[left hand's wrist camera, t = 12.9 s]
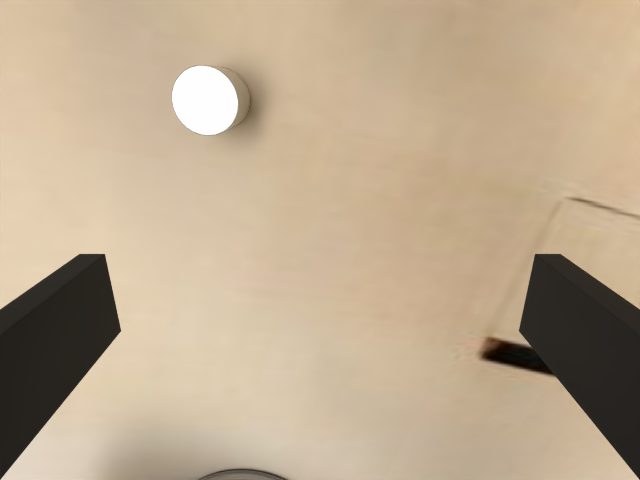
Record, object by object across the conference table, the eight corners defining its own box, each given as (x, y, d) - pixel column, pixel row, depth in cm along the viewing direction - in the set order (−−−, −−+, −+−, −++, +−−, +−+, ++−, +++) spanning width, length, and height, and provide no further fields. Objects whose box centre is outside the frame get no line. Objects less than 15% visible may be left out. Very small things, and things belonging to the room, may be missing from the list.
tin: (235, 58, 27) (220, 54, 23) (259, 116, 28) (249, 121, 24) (183, 80, 28) (159, 80, 24) (209, 136, 29) (190, 145, 25)
